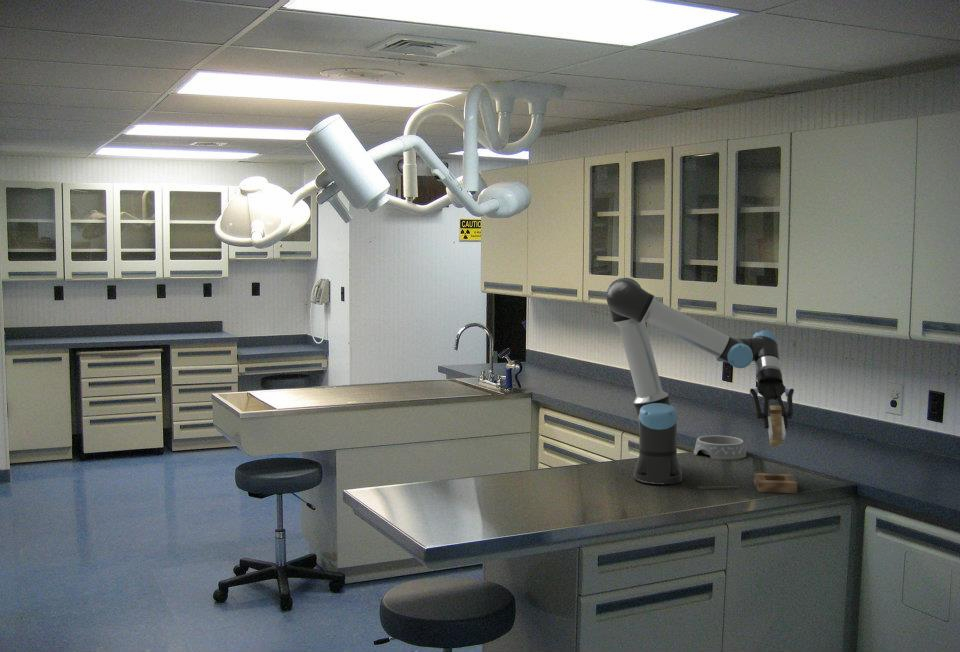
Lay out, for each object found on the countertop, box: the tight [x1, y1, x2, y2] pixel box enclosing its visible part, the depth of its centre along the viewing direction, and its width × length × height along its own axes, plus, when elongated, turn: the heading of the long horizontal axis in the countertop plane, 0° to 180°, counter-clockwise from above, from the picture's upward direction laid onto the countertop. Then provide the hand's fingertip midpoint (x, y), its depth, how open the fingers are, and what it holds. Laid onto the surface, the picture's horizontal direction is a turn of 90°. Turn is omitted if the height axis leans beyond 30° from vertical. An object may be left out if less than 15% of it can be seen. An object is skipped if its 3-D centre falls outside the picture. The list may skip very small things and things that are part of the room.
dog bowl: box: [693, 434, 747, 461], centre depth 324 cm, size 17×18×5 cm
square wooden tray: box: [753, 472, 798, 494], centre depth 278 cm, size 11×11×3 cm
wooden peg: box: [768, 404, 782, 447], centre depth 277 cm, size 3×3×12 cm
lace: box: [698, 485, 739, 490], centre depth 278 cm, size 12×1×1 cm, turn 90°
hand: (777, 436), depth 273 cm, fingers closed on wooden peg, 3 cm apart
